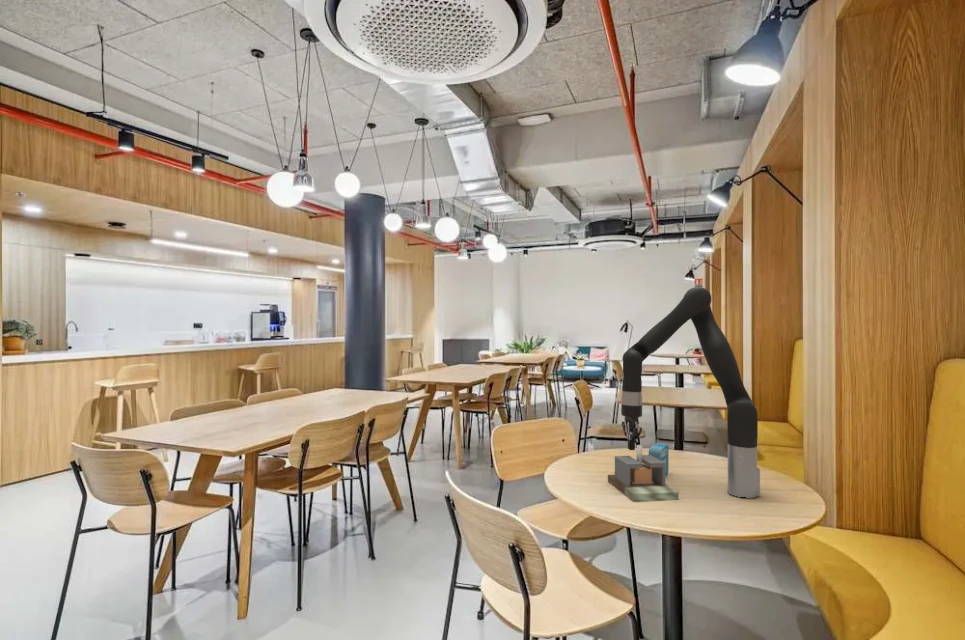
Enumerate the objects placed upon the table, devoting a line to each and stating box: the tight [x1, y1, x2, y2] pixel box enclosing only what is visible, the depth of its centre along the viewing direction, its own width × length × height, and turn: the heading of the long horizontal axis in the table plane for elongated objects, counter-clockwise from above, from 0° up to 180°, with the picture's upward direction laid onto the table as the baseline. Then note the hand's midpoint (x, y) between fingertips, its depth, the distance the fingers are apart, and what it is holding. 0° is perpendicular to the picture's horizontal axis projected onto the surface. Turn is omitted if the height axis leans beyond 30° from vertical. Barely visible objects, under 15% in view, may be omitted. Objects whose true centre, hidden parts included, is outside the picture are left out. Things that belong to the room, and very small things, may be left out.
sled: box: [630, 444, 654, 484], centre depth 181 cm, size 8×6×13 cm
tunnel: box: [614, 454, 666, 487], centre depth 181 cm, size 14×11×8 cm
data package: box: [648, 443, 670, 478], centre depth 195 cm, size 12×4×12 cm, turn 146°
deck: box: [607, 473, 680, 503], centre depth 179 cm, size 16×22×2 cm
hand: (631, 449), depth 187 cm, fingers closed
